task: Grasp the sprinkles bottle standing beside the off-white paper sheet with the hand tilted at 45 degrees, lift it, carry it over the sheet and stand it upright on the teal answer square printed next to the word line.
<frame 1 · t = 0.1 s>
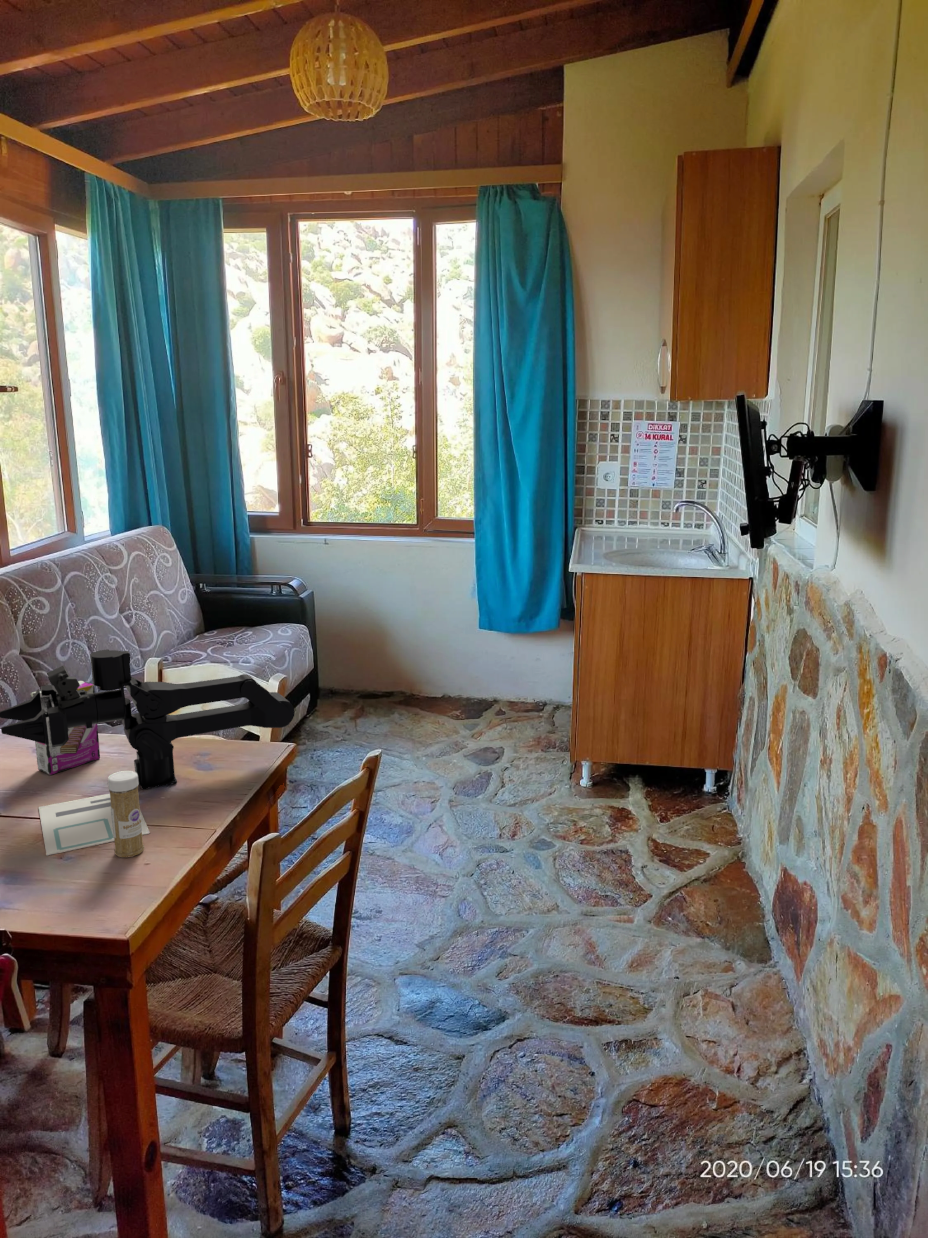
hand: (0, 722, 153), 17 cm above the table, tool horizontal, fingers open, 9 cm apart
paper sheet: (92, 820, 153), on the table
sprinkles bottle: (129, 853, 142), on the table
candy bar box: (70, 765, 177), on the table
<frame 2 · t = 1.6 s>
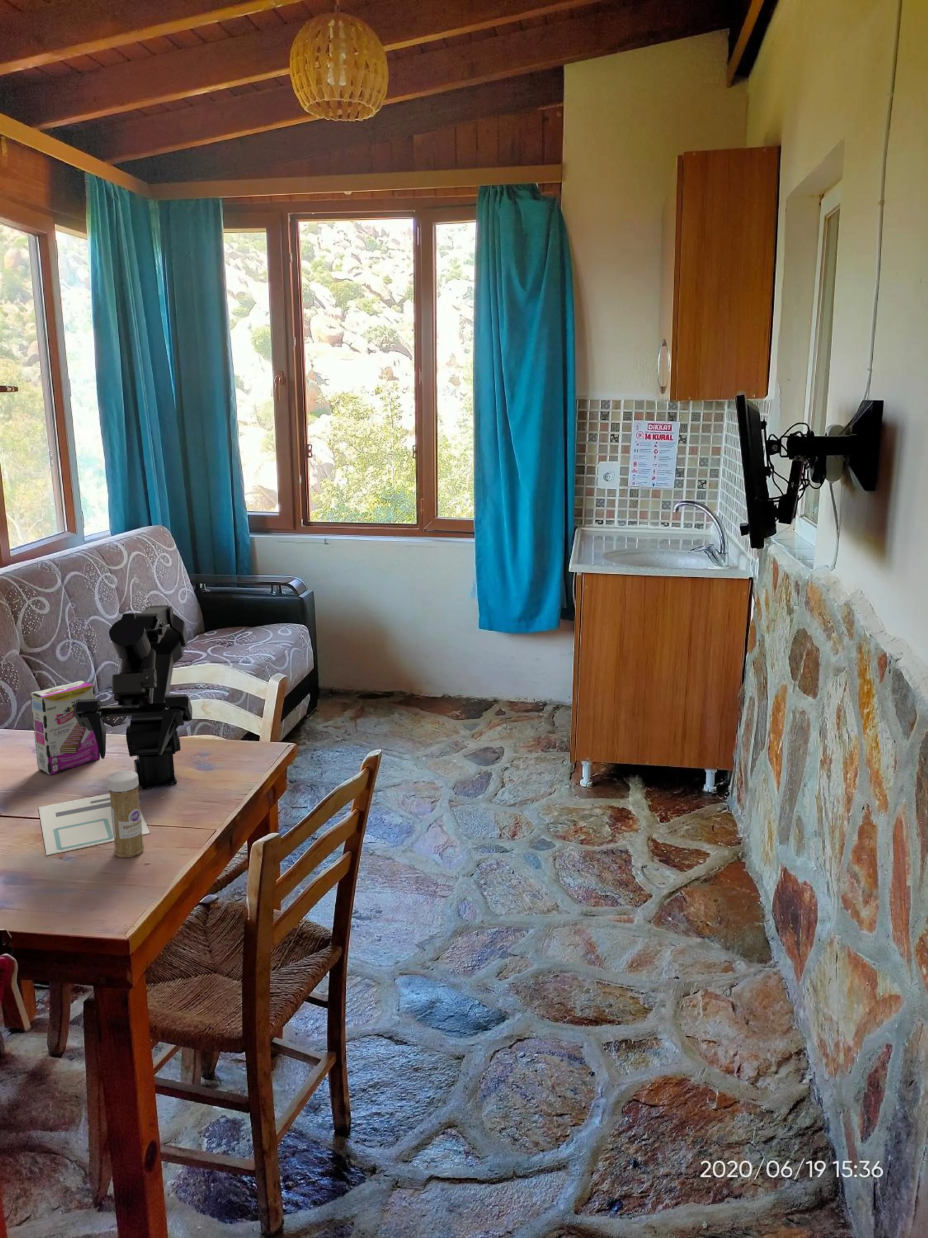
hand: (131, 756, 147), 13 cm above the table, tool tilted 45°, fingers open, 9 cm apart
nothing on the table moved.
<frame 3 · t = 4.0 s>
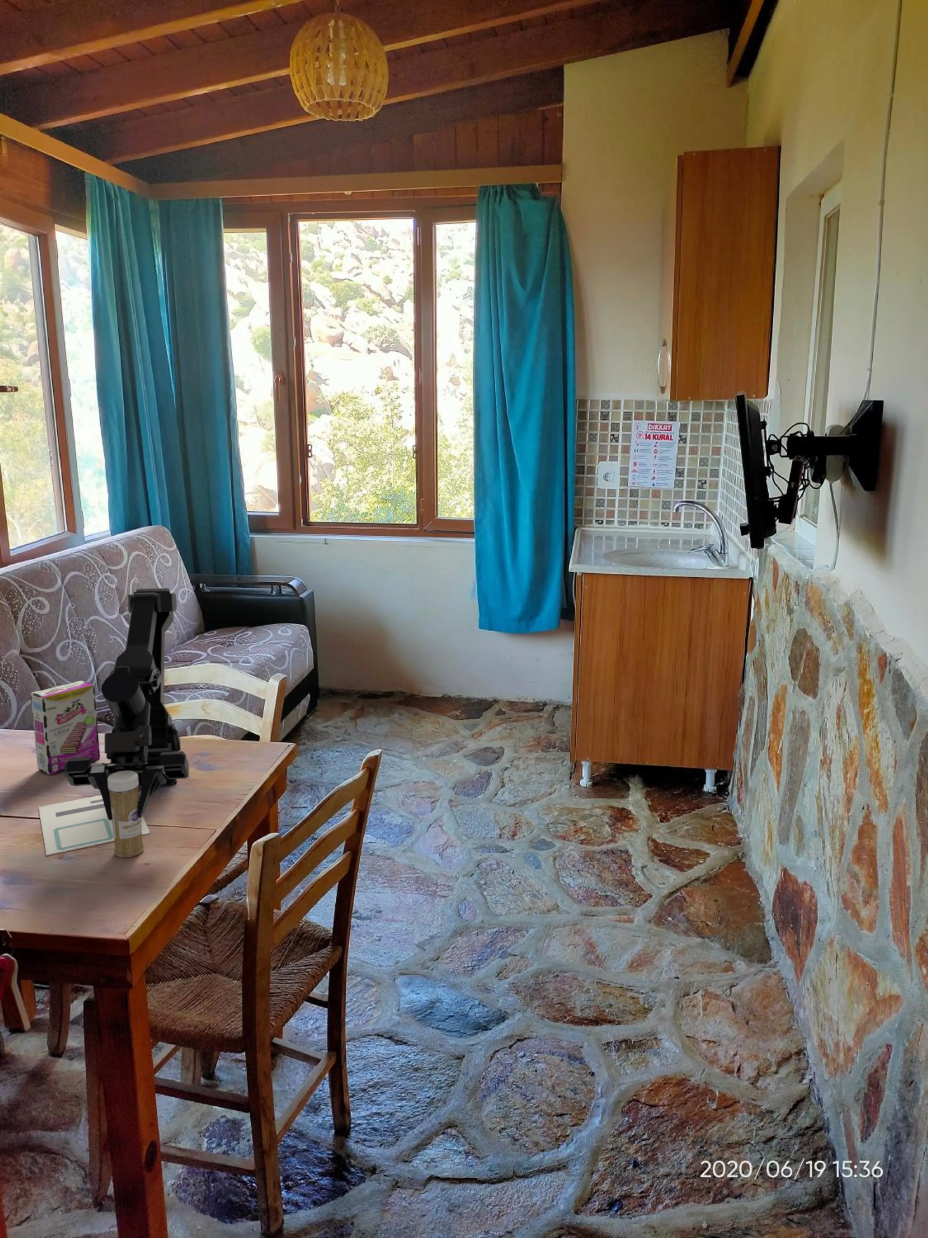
hand: (124, 818, 139), 7 cm above the table, tool tilted 45°, fingers closed on sprinkles bottle, 4 cm apart
sprinkles bottle: (129, 853, 142), on the table, touching gripper
everything else where it was.
when the fingers open (7 cm above the table, at t = 7.5 s): sprinkles bottle stays where it is, resting on paper sheet.
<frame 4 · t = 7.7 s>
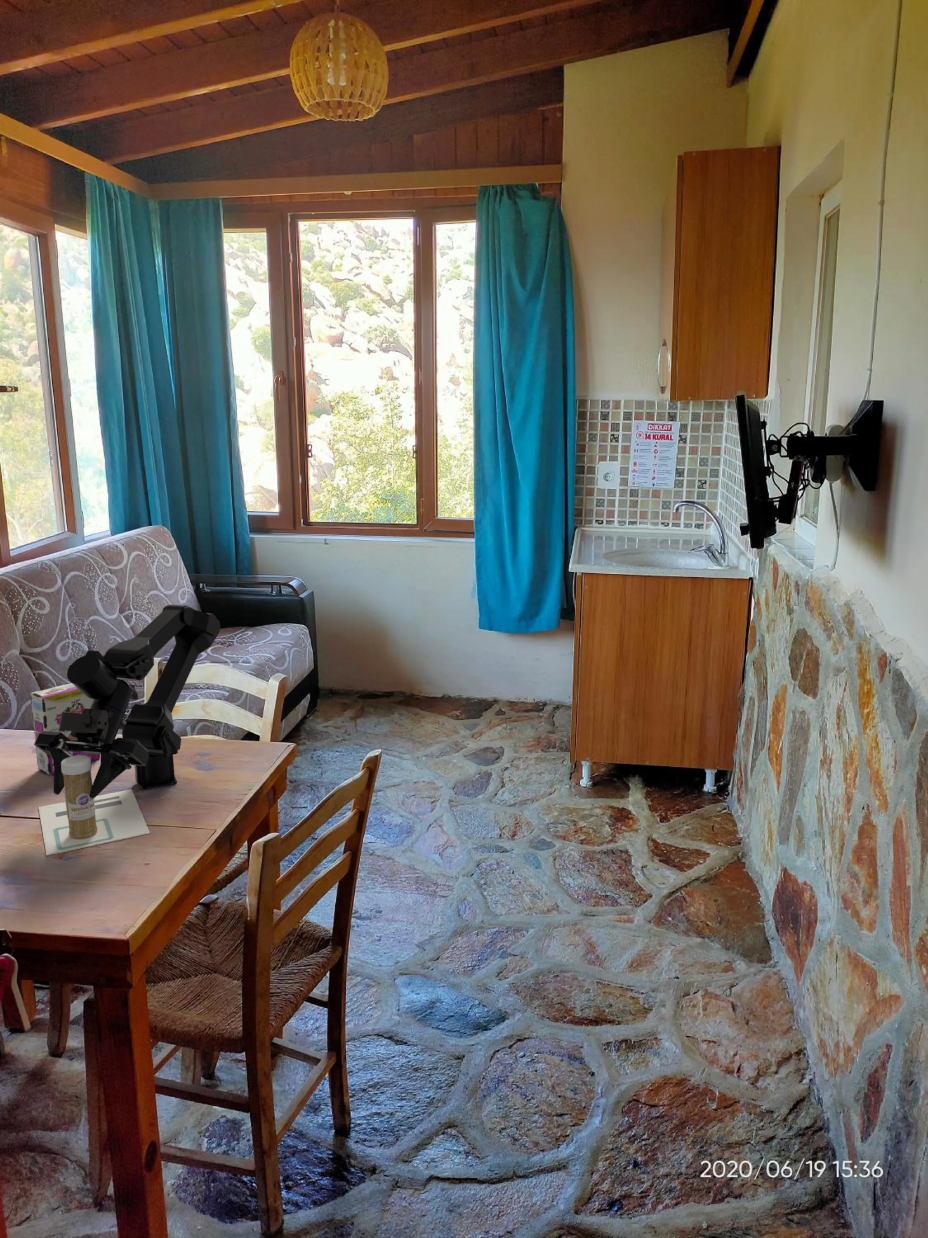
hand: (73, 795, 145), 8 cm above the table, tool tilted 45°, fingers open, 6 cm apart
sprinkles bottle: (83, 834, 148), resting on paper sheet
everything else where it was.
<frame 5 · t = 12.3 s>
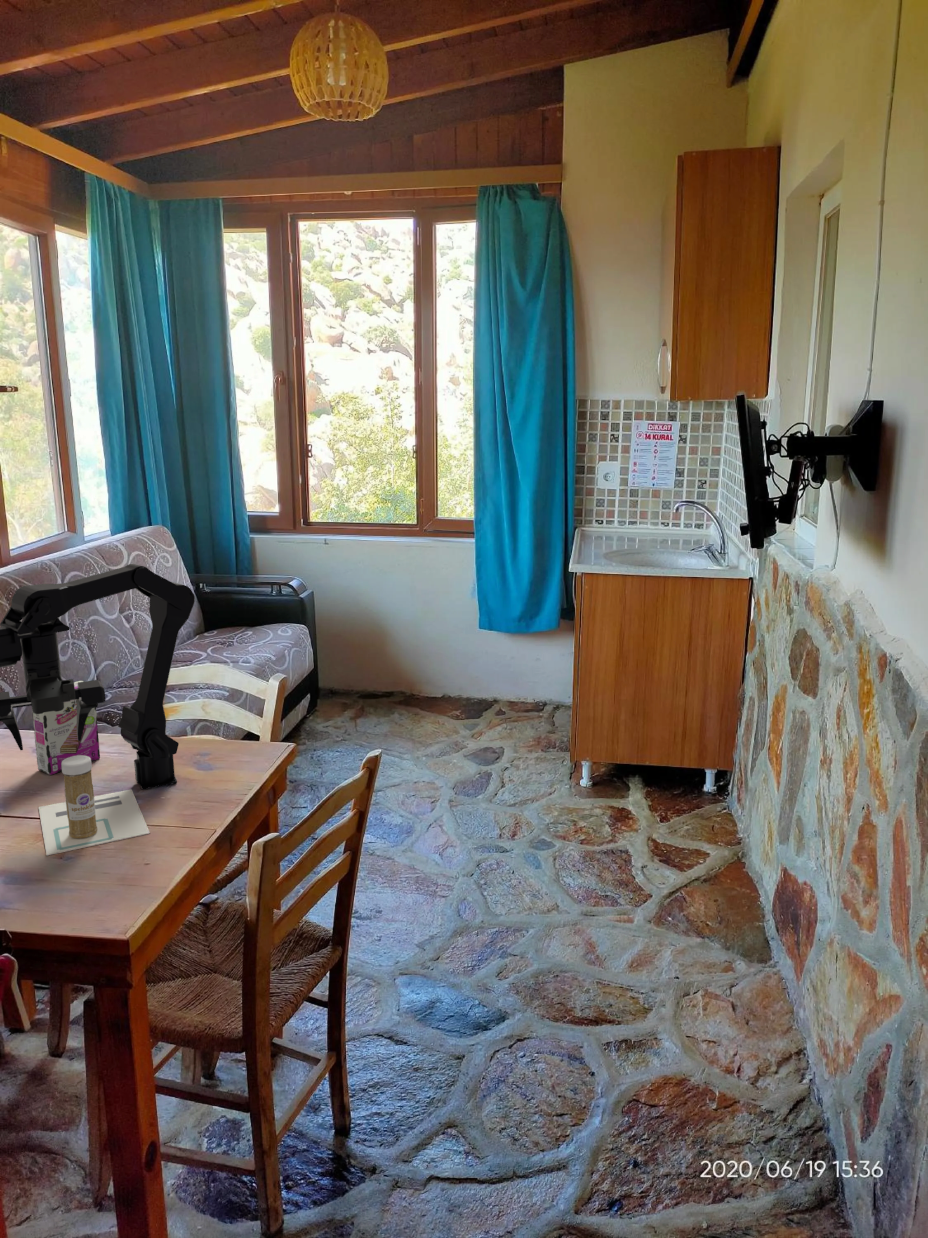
hand: (50, 745, 153), 13 cm above the table, tool pointing down, fingers open, 9 cm apart
nothing on the table moved.
at the end: sprinkles bottle inside the target area (0.1 cm from its centre), resting on paper sheet; sprinkles bottle tilted 0°; the gripper is holding nothing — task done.
